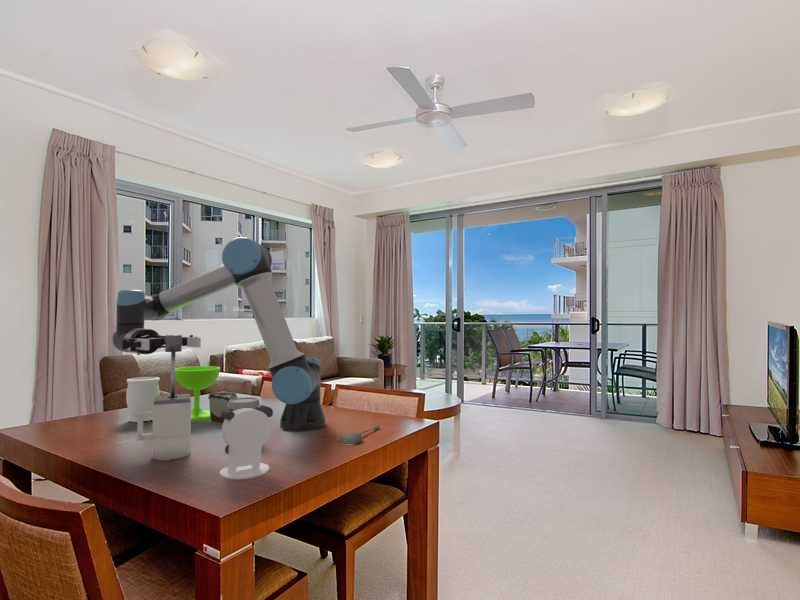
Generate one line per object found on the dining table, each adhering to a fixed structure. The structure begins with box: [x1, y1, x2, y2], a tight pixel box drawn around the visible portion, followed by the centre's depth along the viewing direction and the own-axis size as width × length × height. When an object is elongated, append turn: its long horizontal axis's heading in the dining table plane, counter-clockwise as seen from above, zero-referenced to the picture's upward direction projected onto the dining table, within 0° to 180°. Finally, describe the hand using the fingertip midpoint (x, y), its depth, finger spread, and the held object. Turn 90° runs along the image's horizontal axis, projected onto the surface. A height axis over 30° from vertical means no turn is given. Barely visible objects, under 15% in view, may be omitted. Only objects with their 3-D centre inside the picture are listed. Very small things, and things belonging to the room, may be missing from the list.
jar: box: [125, 376, 161, 423], centre depth 167 cm, size 11×10×15 cm
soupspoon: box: [338, 424, 381, 445], centre depth 145 cm, size 22×3×7 cm
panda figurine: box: [219, 404, 274, 480], centre depth 113 cm, size 12×11×15 cm
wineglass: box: [175, 365, 221, 423], centre depth 172 cm, size 16×16×18 cm
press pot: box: [136, 393, 192, 461], centre depth 124 cm, size 13×9×16 cm
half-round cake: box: [208, 391, 238, 425], centre depth 165 cm, size 12×6×10 cm, turn 58°
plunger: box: [164, 334, 183, 398], centre depth 126 cm, size 4×4×17 cm
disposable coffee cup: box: [227, 396, 261, 411], centre depth 141 cm, size 10×10×12 cm
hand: (174, 343), depth 125 cm, fingers open, 13 cm apart
